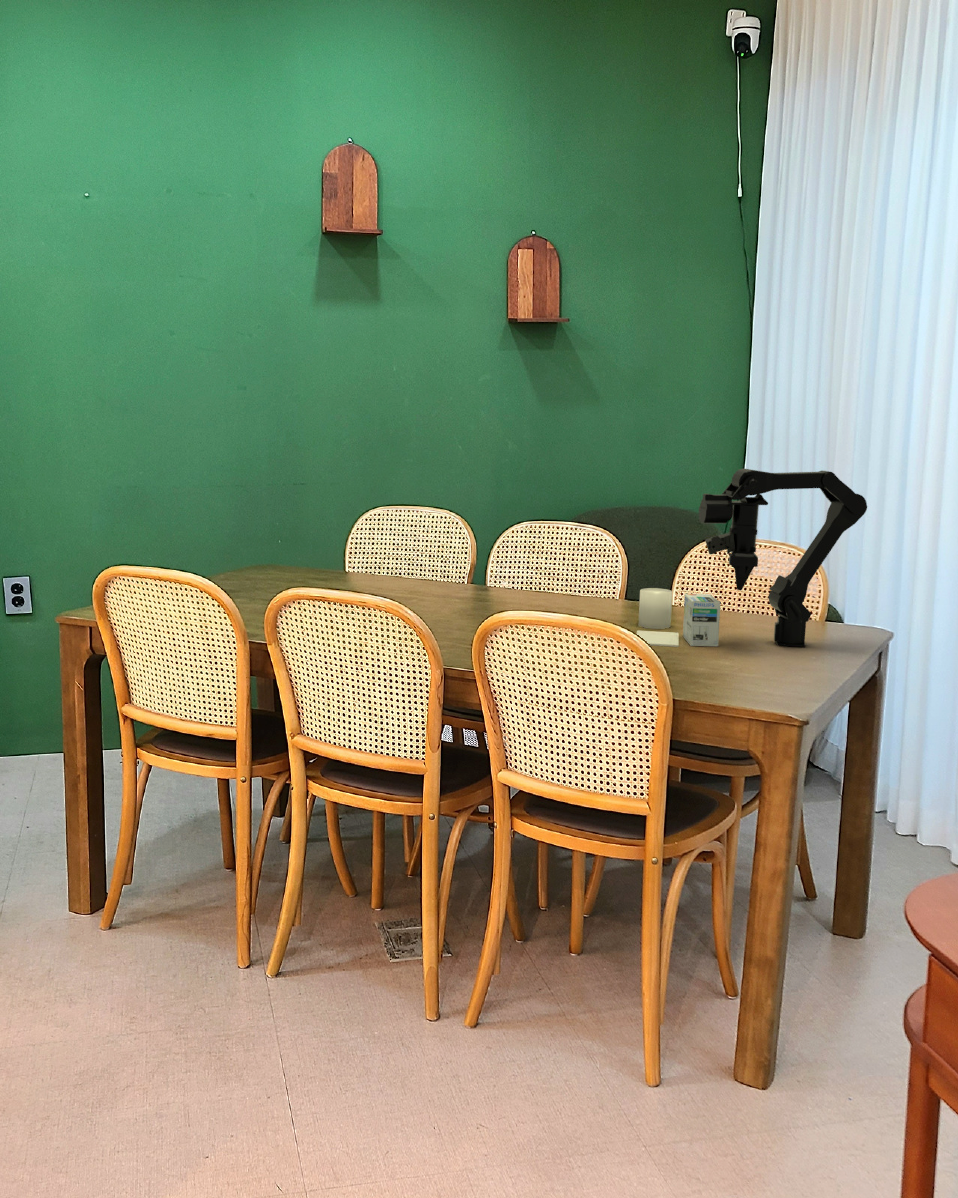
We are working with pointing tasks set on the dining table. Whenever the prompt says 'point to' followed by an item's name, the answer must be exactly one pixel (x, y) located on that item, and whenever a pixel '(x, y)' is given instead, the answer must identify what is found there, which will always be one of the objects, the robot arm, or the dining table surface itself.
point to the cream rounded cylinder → (655, 608)
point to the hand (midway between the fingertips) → (739, 590)
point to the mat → (660, 638)
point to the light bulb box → (701, 620)
